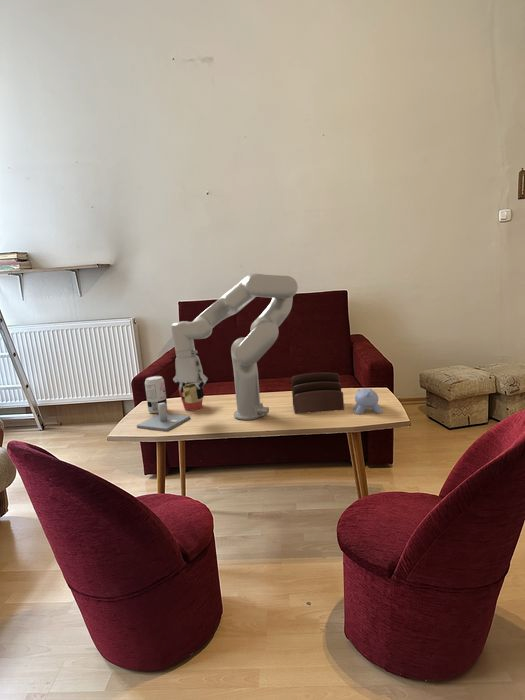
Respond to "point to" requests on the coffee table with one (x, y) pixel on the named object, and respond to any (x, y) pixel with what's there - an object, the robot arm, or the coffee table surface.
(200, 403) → the flower pot
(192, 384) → the cup
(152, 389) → the supplement can
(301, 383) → the letter holder
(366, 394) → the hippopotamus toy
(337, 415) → the coffee table surface
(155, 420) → the post base
